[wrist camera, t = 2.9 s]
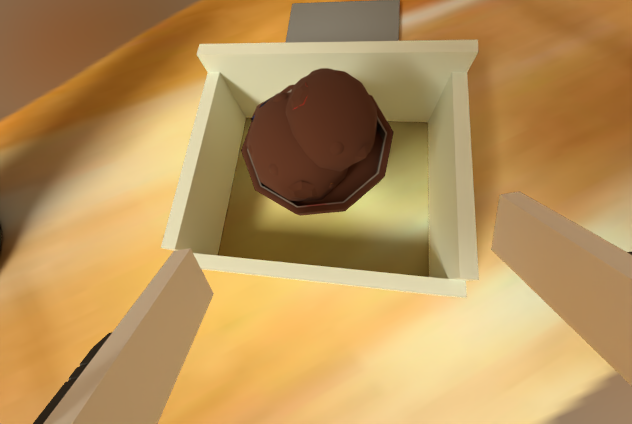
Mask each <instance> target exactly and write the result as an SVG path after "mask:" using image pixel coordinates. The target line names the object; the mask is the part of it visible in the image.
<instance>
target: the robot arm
mask: <svg viewBox="0 0 632 424" xmlns="http://www.w3.org/2000/svg"><path fill="white" fill-rule="evenodd" d="M0 247H1V227H0ZM491 250H492V251H493V252H494V253H495V254H496V255H497V256H498V257H499V258H500V259H502V260H503V261H504V262H505V263H506V264H507V265H508V266H509V267H510V268H511V269H512V270H513V271H514V272H515V273H516V274H517V275H518V276H519V277H520V278H521V279H522V280H523V281H524V282H525V283H526V284H527V285H528V286H529V287H530V288H531V289H532V290H533V291H534V292H535V293H537V294H538V295H539V296H540V297H541V298H542V299H543V300H544V301H545V302H546V303H547V304H548V305H549V306H550V307H551V308H552V309H553V310H554V311H555V312H556V313H557V314H558V315H559V316H560V317H561V318H562V319H563V320H564V321H565V322H566V323H567V324H568V325H569V326H570V327H572V328H573V329H574V330H575V331H576V332H577V333H578V334H579V335H580V336H581V337H582V338H583V339H584V340H585V341H586V342H587V343H588V344H589V345H590V346H591V347H592V348H593V349H594V350H595V351H596V352H597V353H598V354H599V355H600V356H601V357H602V358H603V359H604V360H605V361H606V362H608V363H609V364H610V365H611V366H612V367H613V368H614V369H615V370H616V371H617V372H618V373H619V374H620V375H621V376H622V377H623V378H624V379H625V380H626V381H627V382H628V383H629V384H630V385H631V386H632V252H625V251H624V250H622V249H620V248H618V247H617V246H615V245H613V244H611V243H610V242H608V241H606V240H604V239H602V238H601V237H599V236H597V235H595V234H594V233H592V232H590V231H588V230H587V229H585V228H583V227H581V226H579V225H578V224H576V223H574V222H572V221H571V220H569V219H567V218H565V217H564V216H562V215H560V214H558V213H556V212H555V211H553V210H551V209H549V208H548V207H546V206H544V205H542V204H541V203H539V202H537V201H535V200H534V199H532V198H530V197H528V196H526V195H525V194H523V193H521V192H513V193H507V194H501V195H500V196H499V202H498V209H497V215H496V222H495V228H494V235H493V241H492V248H491ZM212 296H213V292H212V290H211V288H210V286H209V284H208V282H207V280H206V278H205V276H204V274H203V272H202V270H201V268H200V266H199V264H198V262H197V260H196V258H195V256H194V254H193V252H192V250H191V248H189V249H183V250H177V251H174V252H173V253H172V254H171V256H170V257H169V258H168V260H167V261H166V262H165V264H164V265H163V266H162V268H161V269H160V270H159V272H158V273H157V274H156V275H155V277H154V278H153V279H152V281H151V282H150V283H149V285H148V286H147V287H146V289H145V290H144V291H143V293H142V294H141V295H140V297H139V298H138V299H137V301H136V302H135V303H134V305H133V306H132V307H131V308H130V310H129V311H128V312H127V314H126V315H125V316H124V318H123V319H122V320H121V322H120V323H119V324H118V326H117V327H116V328H115V330H114V331H113V332H112V333H109V334H107V335H106V336H105V337H104V338H103V339H102V340H101V341H100V342H98V343H97V344H96V345H95V346H94V347H93V348H92V349H91V350H90V352H89V353H88V354H87V356H86V357H85V358H84V359H83V361H82V362H81V363H80V367H77V368H76V369H75V371H74V372H73V373H72V375H71V376H70V377H69V381H68V382H65V383H64V385H63V386H62V387H61V389H60V390H59V391H58V392H57V394H56V395H55V396H54V397H53V399H52V400H51V401H50V403H49V404H48V405H47V406H46V408H45V409H44V410H43V411H42V413H41V414H40V415H39V417H38V418H37V419H36V420H35V422H34V423H33V424H158V421H159V419H160V417H161V414H162V412H163V410H164V407H165V405H166V403H167V400H168V398H169V396H170V394H171V391H172V389H173V387H174V384H175V382H176V380H177V377H178V375H179V373H180V370H181V368H182V366H183V363H184V361H185V359H186V356H187V354H188V352H189V350H190V347H191V345H192V343H193V340H194V338H195V336H196V333H197V331H198V329H199V326H200V324H201V322H202V319H203V317H204V315H205V313H206V310H207V308H208V306H209V303H210V301H211V299H212Z"/></svg>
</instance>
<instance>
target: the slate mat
mask: <svg viewBox="0 0 632 424" xmlns="http://www.w3.org/2000/svg"><path fill="white" fill-rule="evenodd" d="M399 8H400V0H376V1H349V2H321V3H294V4H292V9H291V15H290V21H289V26H288V32H287V38H286V43H294V42H357V41H398V40H399Z"/></svg>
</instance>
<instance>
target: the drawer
mask: <svg viewBox="0 0 632 424" xmlns="http://www.w3.org/2000/svg"><path fill="white" fill-rule="evenodd" d="M478 52H479V51H478V40H419V41H357V42H294V43H232V44H199V48H198V51H197V56H198V58H199V59H200V61H201V62H202V64H203V66H204V67H205V69H206V70H207V72H208V73H207V77H206V81H205V85H204V88H203V92H202V96H201V100H200V103H199V107H198V111H197V115H196V118H195V122H194V126H193V130H192V133H191V137H190V141H189V145H188V148H187V152H186V156H185V160H184V163H183V167H182V171H181V174H180V178H179V182H178V186H177V189H176V193H175V197H174V201H173V204H172V208H171V212H170V216H169V219H168V223H167V227H166V231H165V234H164V238H163V242H162V246H161V248H164V249H168V250H173V251H177V250H183V249H189V248H191V250H192V252H193V254H194V256H195V258H196V260H197V262H198V264H199V266H200V268H201V269H203V270H211V271H220V272H230V273H239V274H248V275H257V276H266V277H275V278H284V279H293V280H302V281H311V282H320V283H329V284H338V285H347V286H356V287H365V288H374V289H383V290H392V291H401V292H410V293H419V294H428V295H437V296H448V297H462V298H467V293H466V281H471V280H479V273H478V255H477V238H476V220H475V202H474V184H473V166H472V148H471V131H470V113H469V95H468V77H467V72H468V70H469V68H470V66H471V65H472V63H473V61H474V59H475V57H476V55H477V54H478ZM321 68H329V69H333V70H340V71H345V72H346V73H348V74H350V75H351V76H353V77H354V78H356V79H357V80H359V81H360V82H361V83H362V84H363V86H364V87H365V89H366V90H367V92H368V94H369V95H372V96H373V98H374V100H375V101H376V103H377V105H378V107H379V108H380V110H381V112H382V113H383V115H384V117H385V119H386V120H387V121H400V122H428V208H429V277H423V276H413V275H404V274H394V273H384V272H374V271H364V270H355V269H345V268H335V267H325V266H315V265H306V264H296V263H286V262H276V261H266V260H256V259H247V258H237V257H227V256H218V251H219V246H220V242H221V237H222V232H223V227H224V222H225V217H226V213H227V208H228V203H229V198H230V193H231V189H232V184H233V179H234V174H235V169H236V164H237V160H238V155H239V150H240V145H241V140H242V135H243V131H244V126H245V121H246V118H252V116H253V114H254V112H255V109H256V107H257V105H259V104H261V103H262V102H264V101H266V100H268V99H269V98H271V97H273V96H275V95H276V94H277V93H280V92H281V91H283V90H284V89H285V88H286V87H288V86H289V85H295V84H296V83H297V82H298V81H299V80H300V79H301V78H303V77H306V76H308V75H309V74H310V73H311V72H312V71H314V70H318V69H321Z"/></svg>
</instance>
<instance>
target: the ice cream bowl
mask: <svg viewBox="0 0 632 424" xmlns="http://www.w3.org/2000/svg"><path fill="white" fill-rule="evenodd" d="M392 137H393V131H392V129H391V127H390V125H389V124H388V122H387V120H386V119H385V117H384V115H383V113H382V112H381V110H380V108H379V107H378V105H377V103H376V101H375V100H374V98H373V96H372V95H369V94H368V92H367V90H366V89H365V87H364V86H363V84H362V83H361V82H360V81H359V80H357V79H356V78H354V77H353V76H351V75H350V74H348V73H346V72H345V71H340V70H333V69H329V68H321V69H318V70H314V71H312V72H311V73H310V74H309V75H308V76H306V77H303V78H301V79H300V80H299V81H298V82H297V83H296V84H295V85H289V86H288V87H286V88H285V89H284V90H283V91H281V92H280V93H277V94H276V95H275V96H273V97H271V98H269V99H268V100H266V101H264V102H262V103H261V104H259V105H257V107H256V109H255V112H254V114H253V116H252V122H251V125H250V127H249V130H248V133H247V136H246V139H245V142H244V144H243V147H242V150H241V151H242V154H243V157H244V160H245V162H246V165H247V168H248V171H249V174H250V177H251V179H252V182H253V185H254V188H255V190H256V191H258V192H259V193H261V194H263V195H265V196H266V197H268V198H270V199H271V200H273V201H275V202H276V203H278V204H280V205H282V206H283V207H285V208H287V209H288V210H290V211H292V212H293V213H295V214H298V215H310V214H320V213H330V212H341V211H346V210H347V209H348V208H349V207H350V206H352V205H353V204H354V203H355V202H356V201H357V200H359V199H360V198H361V197H362V196H363V195H364V194H366V193H367V192H368V191H369V190H370V189H372V188H373V187H374V186H375V185H376V184H377V183H379V182H380V181H381V179H382V178H383V177H384V176H385V172H386V167H387V162H388V157H389V152H390V147H391V142H392Z"/></svg>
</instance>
